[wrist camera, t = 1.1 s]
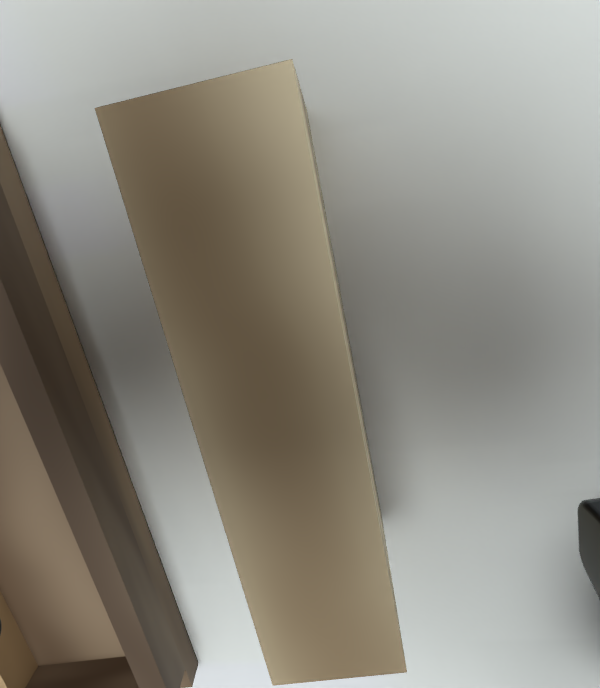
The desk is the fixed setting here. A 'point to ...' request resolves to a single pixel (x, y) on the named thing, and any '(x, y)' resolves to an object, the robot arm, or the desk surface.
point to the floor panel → (68, 499)
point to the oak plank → (263, 359)
